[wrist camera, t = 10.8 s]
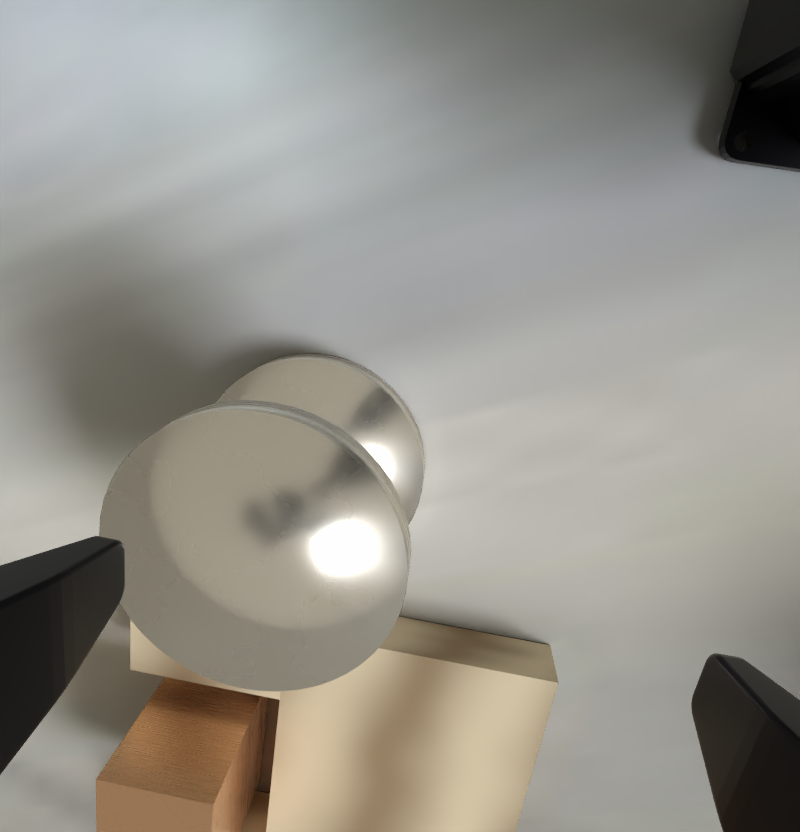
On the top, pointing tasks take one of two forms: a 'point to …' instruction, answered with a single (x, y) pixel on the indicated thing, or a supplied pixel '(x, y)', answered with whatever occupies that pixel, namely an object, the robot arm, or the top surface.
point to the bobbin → (272, 525)
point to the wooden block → (185, 762)
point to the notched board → (402, 734)
